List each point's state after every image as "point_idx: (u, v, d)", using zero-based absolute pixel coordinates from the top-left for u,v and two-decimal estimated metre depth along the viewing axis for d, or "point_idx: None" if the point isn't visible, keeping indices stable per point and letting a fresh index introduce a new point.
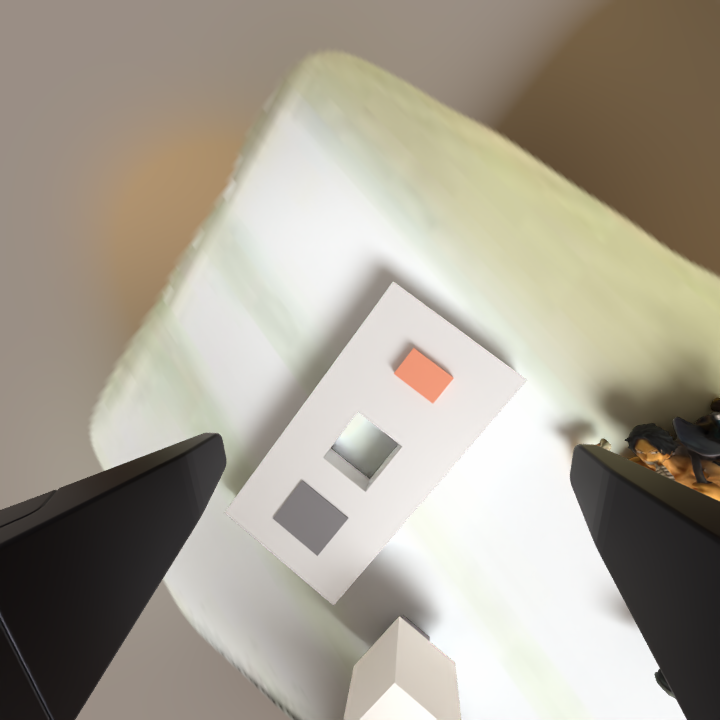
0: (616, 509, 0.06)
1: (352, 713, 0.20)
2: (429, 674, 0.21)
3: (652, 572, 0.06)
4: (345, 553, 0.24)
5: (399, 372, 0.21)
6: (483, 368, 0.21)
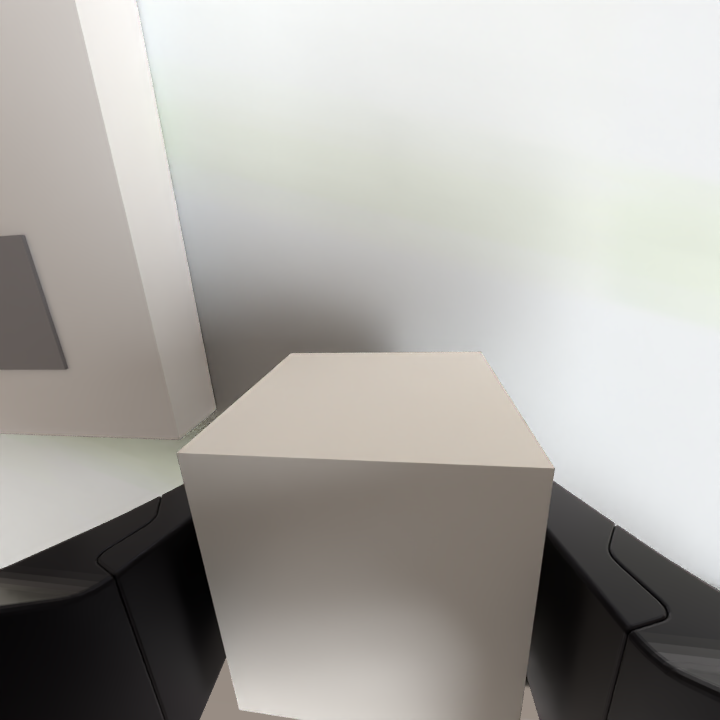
0: None
1: None
2: (380, 389, 0.06)
3: None
4: (94, 316, 0.09)
5: None
6: None
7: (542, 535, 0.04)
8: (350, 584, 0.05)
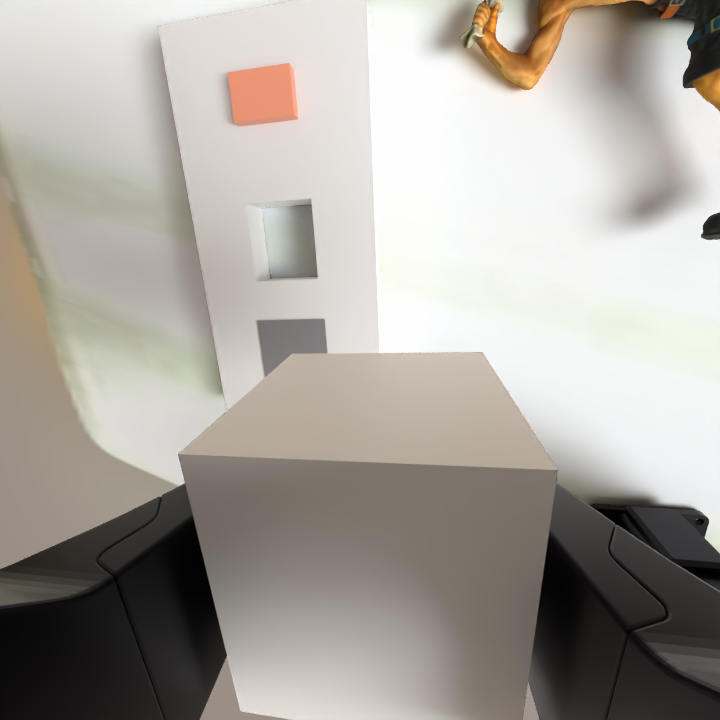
0: None
1: None
2: (381, 390, 0.06)
3: None
4: None
5: (237, 115, 0.17)
6: (314, 25, 0.15)
7: (545, 536, 0.04)
8: (352, 585, 0.05)
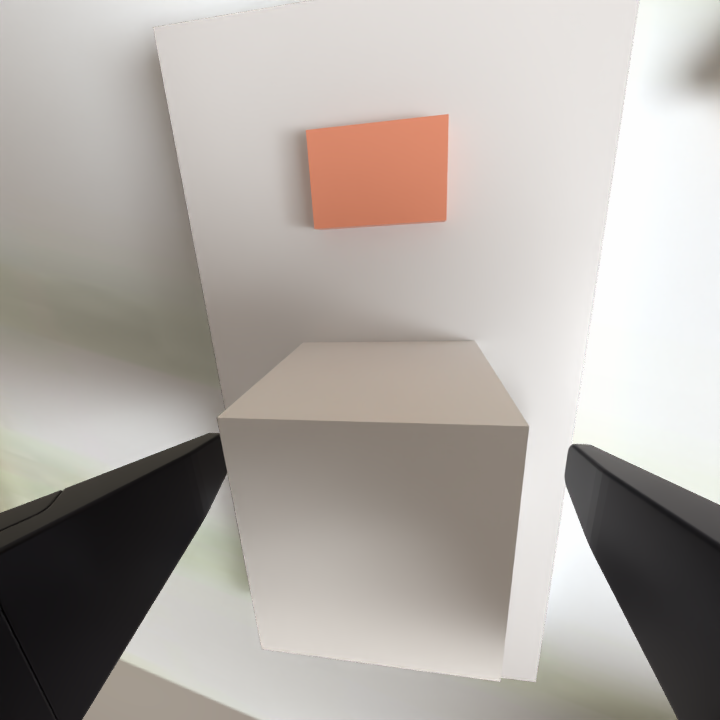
0: (609, 509, 0.06)
1: None
2: (385, 370, 0.07)
3: (643, 571, 0.06)
4: None
5: (322, 215, 0.08)
6: (505, 30, 0.07)
7: (521, 484, 0.05)
8: (361, 530, 0.06)
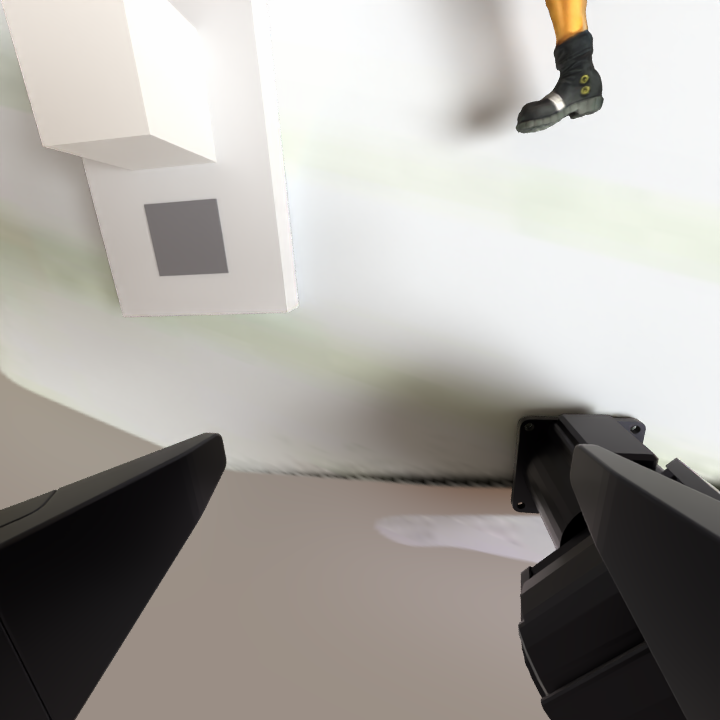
0: (616, 509, 0.06)
1: None
2: None
3: (652, 572, 0.06)
4: (248, 242, 0.18)
5: None
6: None
7: None
8: (66, 34, 0.12)
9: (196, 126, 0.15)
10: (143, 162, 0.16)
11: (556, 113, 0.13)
